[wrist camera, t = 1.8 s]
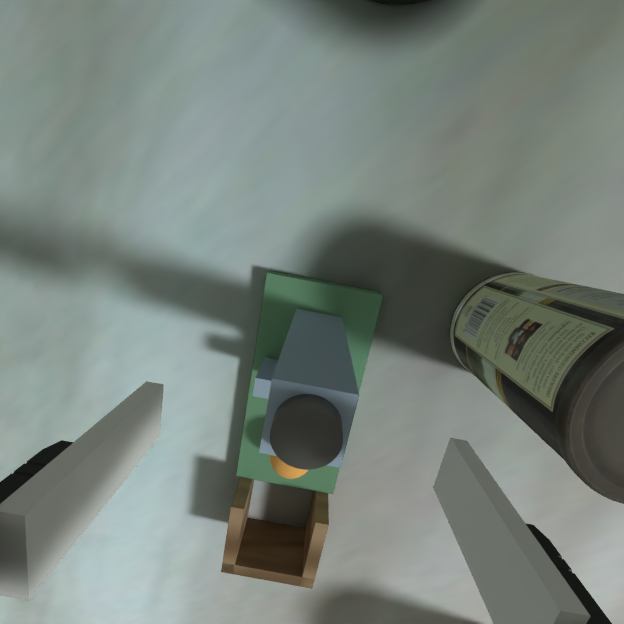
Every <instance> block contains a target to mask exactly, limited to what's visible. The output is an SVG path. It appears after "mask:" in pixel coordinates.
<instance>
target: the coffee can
mask: <svg viewBox="0 0 624 624" xmlns="http://www.w3.org/2000/svg"><path fill="white" fill-rule="evenodd" d="M450 340H451V345H452V349H453V352H454V354H455V356H456V357H457V359H458V360H459V362H460V363H461V364H462V365H463V367H464V368H466V369H467V370H468V371H470V372H471V373H472V374H473V375H474V376H476V377H477V378H478V379H479V380H480V381H481V382H482V383H483V384H484V385H485V386H486V387H487V388H488V389H490V390H491V391H492V392H493V393H494V394H495V395H496V396H497V397H498V398H499V399H500V400H501V401H502V402H504V403H505V404H506V405H507V406H508V407H509V408H510V409H511V410H512V411H513V412H514V413H515V414H516V415H517V416H518V417H519V418H520V419H522V420H523V421H524V422H525V423H526V424H527V425H528V426H529V427H530V428H531V429H532V430H533V431H534V432H535V433H536V434H538V435H539V436H540V437H541V439H542V440H544V441H545V442H546V443H547V444H548V445H549V446H550V447H551V448H552V449H554V450H555V451H556V452H557V453H558V454H559V455H560V456H561V457H562V458H563V459H564V460H565V461H566V463H567V464H568V466H569V467H570V468H571V469H572V470H573V471H574V473H575V474H576V475H577V476H578V477H579V478H580V479H581V480H582V481H583V482H584V483H585V484H586V485H588V486H589V487H590V488H591V489H593V490H594V491H596V492H597V493H599V494H601V495H603V496H605V497H606V498H609V499H611V500H613V501H617V502H620V503H623V504H624V294H621V293H616V292H611V291H606V290H601V289H596V288H591V287H587V286H581V285H576V284H571V283H566V282H561V281H557V280H552V279H547V278H542V277H538V276H535V275H532V274H527V273H515V272H512V273H506V274H501V275H497V276H494V277H491V278H489V279H487V280H485V281H483V282H481V283H480V284H478V285H477V286H476V287H474V288H473V289H472V290H471V291H469V293H468V294H467V295H466V296H465V297H464V298H463V300H462V301H461V302H460V304H459V305H458V307H457V309H456V311H455V313H454V316H453V319H452V322H451V328H450Z"/></svg>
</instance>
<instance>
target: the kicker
mask: <svg viewBox="0 0 624 624" xmlns="http://www.w3.org/2000/svg"><path fill="white" fill-rule="evenodd" d="M253 396H255V397H260V398H265V399H268V404H267V409H266V415H265V421H264V427H263V433H262V439H261V445H260V451H259V453H263V454H269V455H274V456H277V457H278V458H279V459H280V460H282V461H283V462H284V463H286V464H287V465H289V466H291V467H294V468H298V469H304V470H311V469H317V468H321V467H323V466H326V465H327V466H333V467H338V468H341V464H342V460H343V457H344V453H345V449H346V445H347V441H348V437H349V433H350V429H351V425H352V421H353V417H354V413H355V410H356V406H357V402H358V398H359V392H358V387H357V383H356V378H355V373H354V369H353V364H352V359H351V355H350V350H349V346H348V341H347V336H346V332H345V327H344V322H343V318H342V317H338V316H333V315H328V314H322V313H317V312H312V311H307V310H302V309H296V312H295V314H294V317H293V320H292V323H291V326H290V328H289V331H288V334H287V337H286V340H285V343H284V345H283V348H282V351H281V354H280V357H279V360H276V359H271V358H266V357H265V358H264V361H263V363H262V365H261V367H260V369H259V371H258V373H257V376H256V378H255V384H254V390H253Z"/></svg>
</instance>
